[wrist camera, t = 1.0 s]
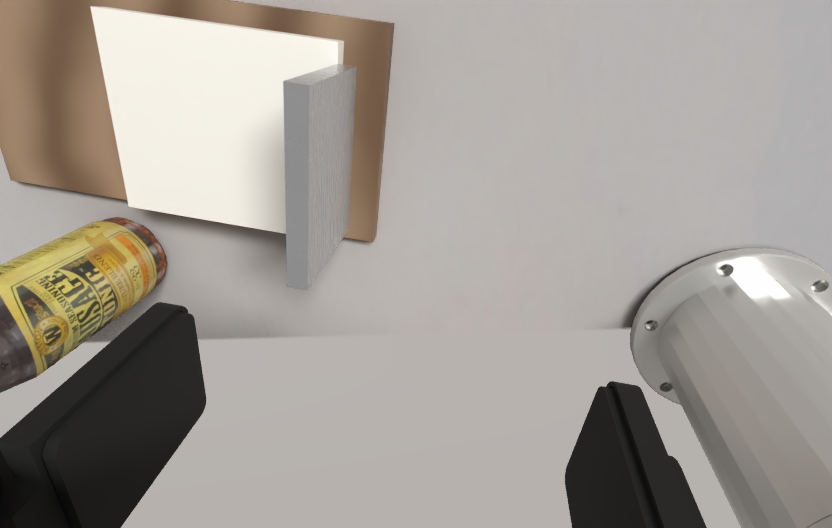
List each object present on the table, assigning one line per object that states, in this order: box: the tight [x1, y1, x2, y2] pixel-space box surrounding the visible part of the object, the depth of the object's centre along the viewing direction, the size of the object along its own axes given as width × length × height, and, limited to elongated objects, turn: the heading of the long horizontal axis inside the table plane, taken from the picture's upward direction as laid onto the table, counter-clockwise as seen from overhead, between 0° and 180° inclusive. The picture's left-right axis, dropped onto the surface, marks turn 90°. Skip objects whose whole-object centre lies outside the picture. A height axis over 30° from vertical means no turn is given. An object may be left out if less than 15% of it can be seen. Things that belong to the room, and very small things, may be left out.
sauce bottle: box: [0, 217, 167, 393], centre depth 27 cm, size 7×6×20 cm
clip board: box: [0, 0, 394, 242], centre depth 29 cm, size 26×13×1 cm, turn 84°
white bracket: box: [90, 6, 357, 290], centre depth 24 cm, size 14×11×10 cm
